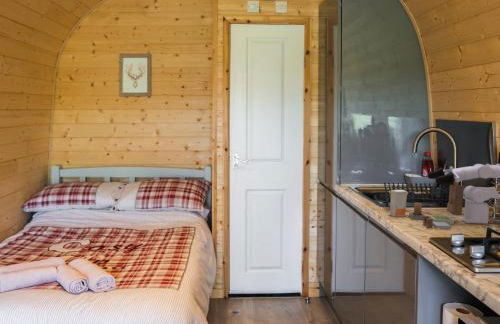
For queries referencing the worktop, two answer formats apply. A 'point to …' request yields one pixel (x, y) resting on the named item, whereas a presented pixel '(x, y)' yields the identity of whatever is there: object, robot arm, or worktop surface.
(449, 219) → the tray
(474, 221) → the robot arm
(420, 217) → the socket
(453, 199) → the wooden block
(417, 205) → the dowel
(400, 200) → the skincare box
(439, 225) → the grey square tile
